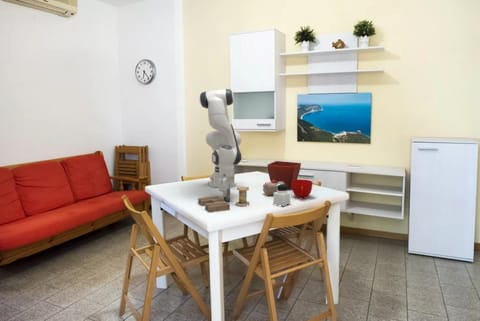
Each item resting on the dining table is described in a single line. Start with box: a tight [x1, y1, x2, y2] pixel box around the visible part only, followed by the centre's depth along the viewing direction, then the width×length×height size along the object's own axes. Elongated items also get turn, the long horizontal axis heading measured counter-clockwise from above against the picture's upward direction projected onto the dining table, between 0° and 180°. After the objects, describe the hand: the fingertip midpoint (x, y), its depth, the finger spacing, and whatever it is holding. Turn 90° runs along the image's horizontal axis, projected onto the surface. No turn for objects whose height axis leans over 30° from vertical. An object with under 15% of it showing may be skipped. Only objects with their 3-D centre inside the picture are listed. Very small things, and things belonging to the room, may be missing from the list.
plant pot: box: [267, 160, 302, 191], centre depth 258 cm, size 19×19×17 cm
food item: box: [262, 179, 285, 197], centre depth 237 cm, size 14×8×10 cm, turn 101°
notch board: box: [197, 195, 231, 213], centre depth 210 cm, size 20×12×3 cm, turn 24°
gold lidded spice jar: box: [223, 184, 231, 203], centre depth 220 cm, size 4×4×11 cm
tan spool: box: [235, 185, 250, 207], centre depth 214 cm, size 8×8×10 cm
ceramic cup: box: [291, 179, 313, 199], centre depth 229 cm, size 13×17×10 cm
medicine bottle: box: [272, 184, 291, 207], centre depth 214 cm, size 7×7×12 cm
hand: (226, 195), depth 221 cm, fingers closed on gold lidded spice jar, 4 cm apart
